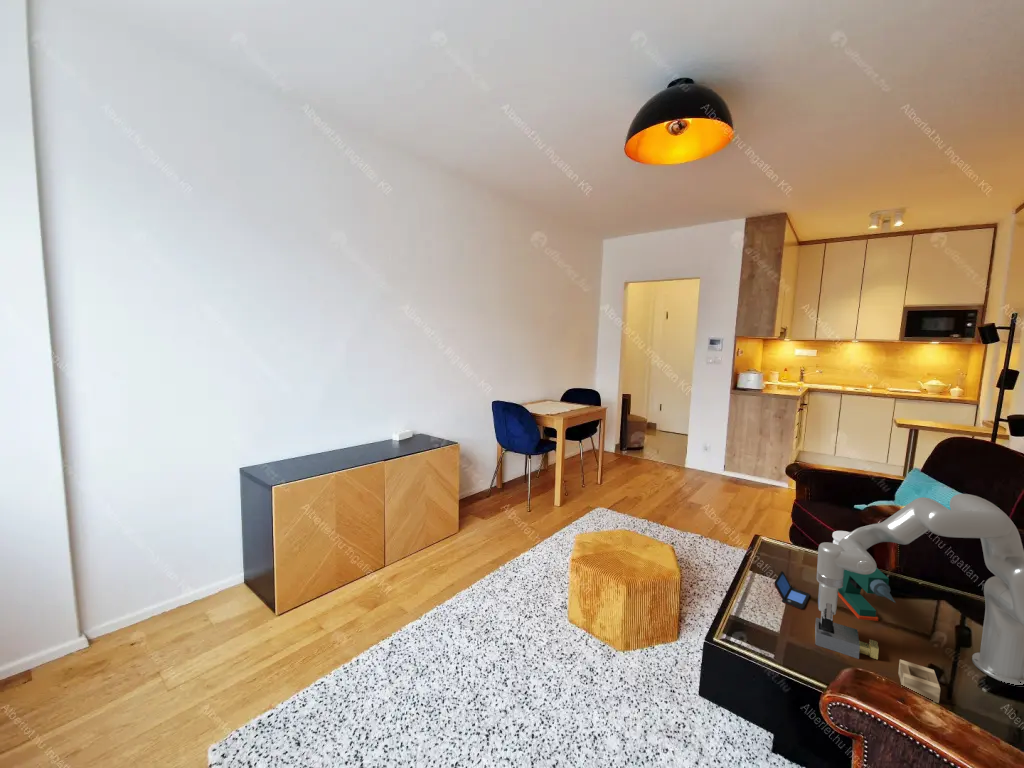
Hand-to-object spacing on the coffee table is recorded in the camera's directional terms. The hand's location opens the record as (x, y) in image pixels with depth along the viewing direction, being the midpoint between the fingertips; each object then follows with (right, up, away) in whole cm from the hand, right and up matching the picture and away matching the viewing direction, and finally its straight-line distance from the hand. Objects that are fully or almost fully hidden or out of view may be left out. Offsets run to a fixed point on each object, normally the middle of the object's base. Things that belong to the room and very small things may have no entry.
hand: (826, 624), depth 151 cm
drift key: (+7, -6, -4) cm, 10 cm away
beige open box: (+14, -9, -20) cm, 25 cm away
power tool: (+24, -4, +12) cm, 27 cm away
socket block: (+3, -6, -1) cm, 7 cm away
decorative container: (+37, +1, +38) cm, 53 cm away
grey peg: (0, -6, +1) cm, 6 cm away
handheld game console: (+4, -3, +25) cm, 25 cm away
